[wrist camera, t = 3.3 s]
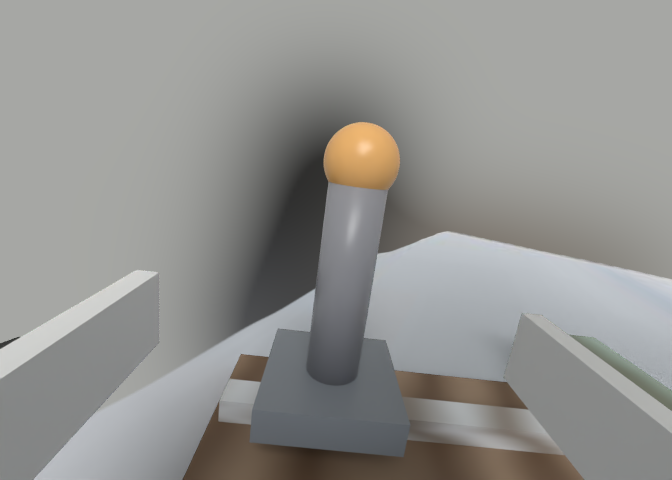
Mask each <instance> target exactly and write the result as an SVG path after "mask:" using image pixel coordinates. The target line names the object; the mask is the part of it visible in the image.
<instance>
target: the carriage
mask: <svg viewBox="0 0 672 480" xmlns="http://www.w3.org/2000/svg"><path fill="white" fill-rule="evenodd" d="M399 166H400V156H399V150H398V147H397V145H396V143H395V141H394V139H393V138H392V136H391V135H390V134H389V133H388V132H387V131H386V130H384V129H383V128H381V127H379V126H377V125H375V124H372V123H366V122H359V123H354V124H350V125H348V126H346V127H344V128H342V129H341V130H339V131H338V132H337V133H336V134H335V135H334V136H333V137H332V138H331V140H330V141H329V143H328V145H327V147H326V151H325V155H324V169H325V174H326V177H327V179H328V181H329V184H328V191H327V200H326V208H325V216H324V225H323V233H322V241H321V250H320V258H319V265H318V274H317V282H316V290H315V298H314V307H313V315H312V323H311V331H310V332H304V331H295V330H286V329H278V330H277V333H276V336H275V339H274V342H273V345H272V349H271V352H270V355H269V358H268V361H267V364H266V367H265V371H264V374H263V377H262V380H261V383H260V386H259V389H258V392H257V396H256V399H255V402H254V405H253V408H252V416H251V429H250V441H249V442H250V443H260V444H271V445H281V446H292V447H302V448H313V449H323V450H333V451H344V452H354V453H365V454H375V455H386V456H396V457H404V452H405V448H406V443H407V439H408V434H409V430H410V422H409V419H408V415H407V412H406V409H405V405H404V402H403V398H402V395H401V391H400V388H399V385H398V381H397V378H396V374H395V371H394V368H393V364H392V361H391V357H390V354H389V350H388V347H387V344H386V340H377V339H368V338H364V332H365V325H366V319H367V313H368V307H369V301H370V295H371V289H372V283H373V277H374V271H375V265H376V259H377V253H378V246H379V241H380V235H381V228H382V222H383V216H384V210H385V204H386V198H387V192H388V189H389V187H390V186H391V185H392V184H393V183H394V181H395V179H396V177H397V174H398V171H399Z"/></svg>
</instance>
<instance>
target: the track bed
mask: <svg viewBox="0 0 672 480" xmlns="http://www.w3.org/2000/svg"><path fill="white" fill-rule="evenodd" d="M569 336H571V337H572V338H573V339H575V340H576V341H578V342H579V343H580V344H582V345H583V346H584V347H586V348H587V349H588V350H590V351H591V352H592V353H594V354H595V355H596V356H598V357H599V358H601V359H602V360H603V361H605V362H606V363H607V364H609V365H610V366H611V367H613V368H614V369H615V370H617V371H618V372H619V373H621V374H622V375H624V376H625V377H626V378H628V379H629V380H630V381H632V382H633V383H634V384H636V385H637V386H638V387H640V388H641V389H642V390H644V391H645V392H647V393H648V394H649V395H651V396H652V397H653V398H655V399H656V400H657V401H659V402H660V403H661V404H663V405H664V406H665V407H667V408H668V409H670V410H671V411H672V391H671V390H670V389H668V388H667V387H665V386H664V385H662V384H661V383H660V382H658V381H657V380H655V379H654V378H652V377H651V376H649V375H648V374H646V373H645V372H644V371H642V370H641V369H639V368H638V367H636V366H635V365H633V364H632V363H630V362H629V361H627V360H626V359H625V358H623V357H622V356H620V355H619V354H617V353H616V352H614V351H613V350H611V349H610V348H608V347H607V346H606V345H604V344H603V343H601V342H600V341H598V340H597V339H595V338H593V337H585V336H576V335H569ZM268 358H269V357H263V356H253V355H244V354H241V355H240V357H239V360H238V362H237V364H236V366H235V368H234V370H233V373H232V375H231V377H230V379H229V381H228V383H227V385H226V388H225V390H224V392H223V394H222V396H221V398H220V400H219V403H218V405H217V407H216V409H215V411H214V413H213V415H212V418H211V420H210V422H209V424H208V426H207V428H206V430H205V433H204V435H203V437H202V439H201V441H200V443H199V446H198V448H197V450H196V452H195V454H194V456H193V458H192V461H191V463H190V465H189V467H188V469H187V471H186V473H185V476H184V478H183V480H584V479H583V477H582V476H581V475H580V474H579V472H578V471H577V470H576V469H575V467H574V466H573V465H572V463H571V462H570V461H569V460H568V458H567V457H566V456H565V455H564V453H563V452H562V451H561V450H560V448H559V447H558V446H557V445H556V443H555V442H554V441H553V440H552V438H551V437H550V436H549V434H548V433H547V432H546V431H545V429H544V428H543V427H542V426H541V424H540V423H539V422H538V421H537V419H536V418H535V417H534V416H533V414H532V413H531V412H530V411H529V409H528V408H527V407H526V405H525V404H524V403H523V402H522V400H521V399H520V398H519V397H518V395H517V394H516V393H515V392H514V390H513V389H512V388H511V387H510V385H509V384H508V383H507V382H498V381H488V380H479V379H469V378H460V377H451V376H441V375H432V374H422V373H413V372H404V371H395V374H396V378H397V381H398V385H399V388H400V391H401V395H402V398H403V402H404V405H405V409H406V412H407V415H408V419H409V422H410V430H409V434H408V439H407V443H406V448H405V452H404V457H396V456H386V455H375V454H365V453H354V452H344V451H333V450H323V449H313V448H302V447H292V446H281V445H271V444H260V443H250V442H249V441H250V429H251V416H252V408H253V405H254V402H255V399H256V396H257V392H258V389H259V386H260V383H261V380H262V377H263V374H264V371H265V367H266V364H267V361H268Z"/></svg>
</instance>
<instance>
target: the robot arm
mask: <svg viewBox="0 0 672 480" xmlns="http://www.w3.org/2000/svg"><path fill="white" fill-rule="evenodd" d="M158 343H159V273H158V272H150V271H142V270H136V271H134V272H132V273H130V274H129V275H127V276H125V277H124V278H122V279H120V280H118V281H117V282H115V283H114V284H111V285H110V286H108V287H106V288H105V289H103V290H101V291H100V292H98V293H96V294H94V295H93V296H91V297H89V298H87V299H86V300H84V301H82V302H81V303H79V304H77V305H76V306H74V307H72V308H70V309H68V310H67V311H65V312H63V313H62V314H60V315H58V316H56V317H55V318H53V319H51V320H50V321H48V322H46V323H44V324H43V325H41V326H39V327H38V328H36V329H34V330H32V331H31V332H29V333H27V334H26V335H24V336H22V337H17V338H14V339H11V340H9V341H6V342H3V343H0V480H33V479H34V478H35V477H36V476H37V475H38V474H39V473H40V472H41V470H42V469H43V468H44V467H45V466H46V465H47V464H48V463H49V462H50V461H51V460H52V458H53V457H54V456H55V455H56V454H57V453H58V452H59V451H60V450H61V449H62V448H63V447H64V445H65V444H66V443H67V442H68V441H69V440H70V439H71V438H72V437H73V436H74V435H75V434H76V432H77V431H78V430H79V429H80V428H81V427H82V426H83V425H84V424H85V423H86V422H87V420H88V419H89V418H90V417H91V416H92V415H93V414H94V413H95V412H96V411H97V410H98V408H99V407H100V406H101V405H102V404H103V403H104V402H105V401H106V400H107V399H108V398H109V397H110V396H111V394H112V393H113V392H114V391H115V390H116V389H117V388H118V387H119V386H120V385H121V383H122V382H123V381H124V380H125V379H126V378H127V377H128V376H129V375H130V374H131V373H132V372H133V371H134V369H135V368H136V367H137V366H138V365H139V364H140V363H141V362H142V361H143V360H144V359H145V357H146V356H147V355H148V354H149V353H150V352H151V351H152V350H153V349H154V348H155V347H156V345H157V344H158ZM503 378H504V379H505V380H506V382H507V383H508V384H509V385H510V387H511V388H512V389H513V390H514V392H515V393H516V394H517V395H518V397H519V398H520V399H521V400H522V402H523V403H524V404H525V405H526V407H527V408H528V409H529V411H530V412H531V413H532V414H533V416H534V417H535V418H536V419H537V421H538V422H539V423H540V424H541V426H542V427H543V428H544V429H545V431H546V432H547V433H548V434H549V436H550V437H551V438H552V440H553V441H554V442H555V443H556V445H557V446H558V447H559V448H560V450H561V451H562V452H563V453H564V455H565V456H566V457H567V458H568V460H569V461H570V462H571V463H572V465H573V466H574V467H575V469H576V470H577V471H578V472H579V474H580V475H581V476H582V477H583V479H584V480H672V411H671V410H670V409H668V408H667V407H665V406H664V405H663V404H661V403H660V402H659V401H657V400H656V399H655V398H653V397H652V396H651V395H649V394H648V393H647V392H645V391H644V390H642V389H641V388H640V387H638V386H637V385H636V384H634V383H633V382H632V381H630V380H629V379H628V378H626V377H625V376H624V375H622V374H621V373H619V372H618V371H617V370H615V369H614V368H613V367H611V366H610V365H609V364H607V363H606V362H605V361H603V360H602V359H601V358H599V357H598V356H596V355H595V354H594V353H592V352H591V351H590V350H588V349H587V348H586V347H584V346H583V345H582V344H580V343H579V342H578V341H576V340H575V339H573V338H572V337H571V336H569V335H568V334H567V333H565V332H564V331H563V330H561V329H560V328H559V327H557V326H556V325H555V324H553V323H552V322H550V321H549V320H548V319H546V318H545V317H544V316H542V315H536V314H527V313H522V314H521V318H520V321H519V325H518V328H517V332H516V335H515V339H514V342H513V346H512V349H511V353H510V356H509V360H508V363H507V367H506V370H505V374H504V377H503Z"/></svg>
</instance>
